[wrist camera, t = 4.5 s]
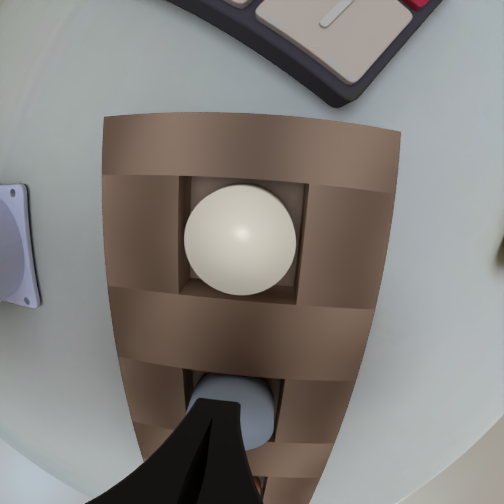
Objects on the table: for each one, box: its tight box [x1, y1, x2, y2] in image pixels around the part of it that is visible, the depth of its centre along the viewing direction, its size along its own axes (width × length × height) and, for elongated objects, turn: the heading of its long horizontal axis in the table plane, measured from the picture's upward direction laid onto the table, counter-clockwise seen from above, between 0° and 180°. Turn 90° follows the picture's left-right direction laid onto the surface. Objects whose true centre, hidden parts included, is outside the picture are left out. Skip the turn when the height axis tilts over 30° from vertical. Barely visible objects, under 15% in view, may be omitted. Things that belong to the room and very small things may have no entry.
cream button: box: [184, 182, 296, 295], centre depth 13 cm, size 4×4×2 cm
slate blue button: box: [186, 372, 274, 451], centre depth 15 cm, size 4×4×2 cm
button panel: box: [102, 112, 401, 504], centre depth 17 cm, size 12×28×3 cm, turn 176°
